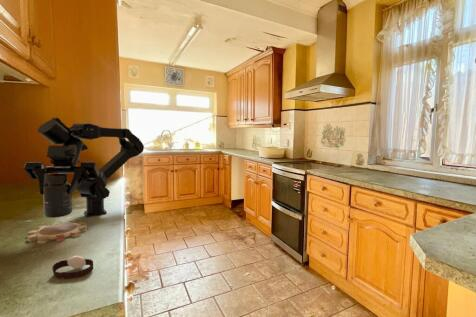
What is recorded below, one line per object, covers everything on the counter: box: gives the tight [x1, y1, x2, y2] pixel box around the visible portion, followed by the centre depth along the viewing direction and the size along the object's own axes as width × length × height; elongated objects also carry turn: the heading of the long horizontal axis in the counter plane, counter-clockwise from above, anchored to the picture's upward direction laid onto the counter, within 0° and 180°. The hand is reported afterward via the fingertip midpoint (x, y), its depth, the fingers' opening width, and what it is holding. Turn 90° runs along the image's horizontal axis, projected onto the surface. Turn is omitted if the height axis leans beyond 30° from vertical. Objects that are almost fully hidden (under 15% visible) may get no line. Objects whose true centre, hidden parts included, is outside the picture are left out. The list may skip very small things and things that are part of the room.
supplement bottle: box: [42, 173, 73, 219], centre depth 72 cm, size 7×7×12 cm
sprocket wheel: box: [26, 220, 88, 244], centre depth 73 cm, size 14×14×1 cm
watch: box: [51, 254, 94, 280], centre depth 52 cm, size 8×5×4 cm, turn 100°
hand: (55, 193), depth 70 cm, fingers closed on supplement bottle, 7 cm apart
